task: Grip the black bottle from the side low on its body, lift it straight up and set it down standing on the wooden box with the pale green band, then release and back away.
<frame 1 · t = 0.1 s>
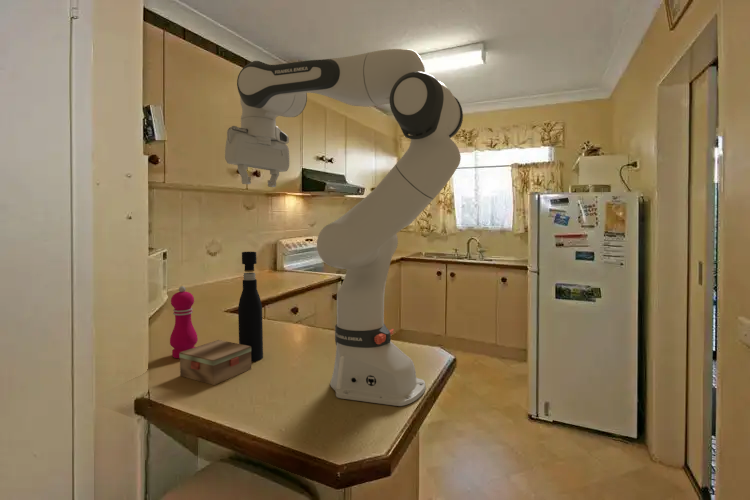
hand: (259, 185, 108), 48 cm above the countertop, tool pointing down, fingers open, 8 cm apart
black bottle: (251, 358, 115), on the countertop
pepper mill: (184, 355, 117), on the countertop
wooden box: (216, 372, 104), on the countertop
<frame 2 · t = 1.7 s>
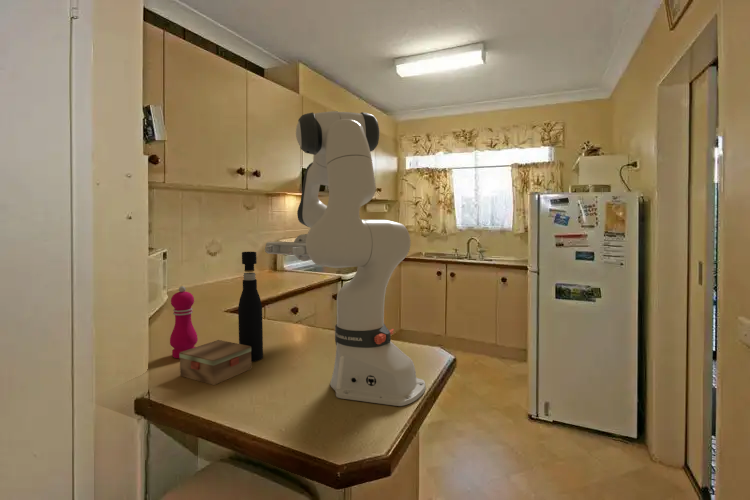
hand: (278, 250, 123), 30 cm above the countertop, tool horizontal, fingers open, 8 cm apart
nothing on the countertop moved.
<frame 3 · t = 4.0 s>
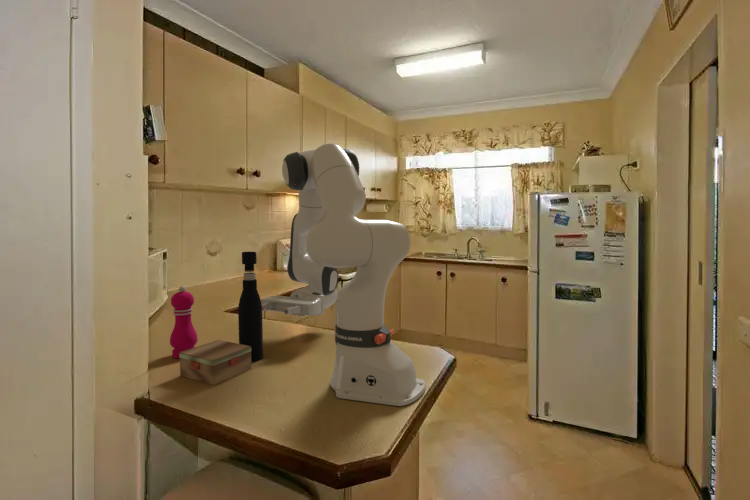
hand: (274, 310, 122), 12 cm above the countertop, tool horizontal, fingers open, 8 cm apart
nothing on the countertop moved.
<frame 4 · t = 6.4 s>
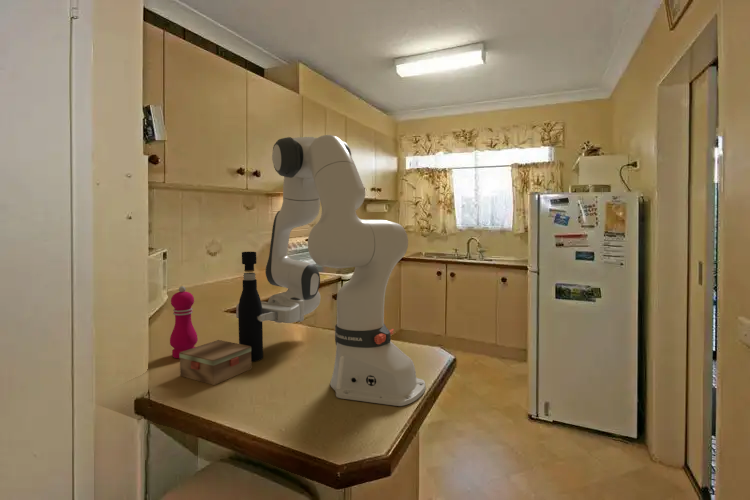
hand: (248, 316, 113), 12 cm above the countertop, tool horizontal, fingers closed on black bottle, 6 cm apart
black bottle: (251, 358, 115), on the countertop, touching gripper
everything else where it was.
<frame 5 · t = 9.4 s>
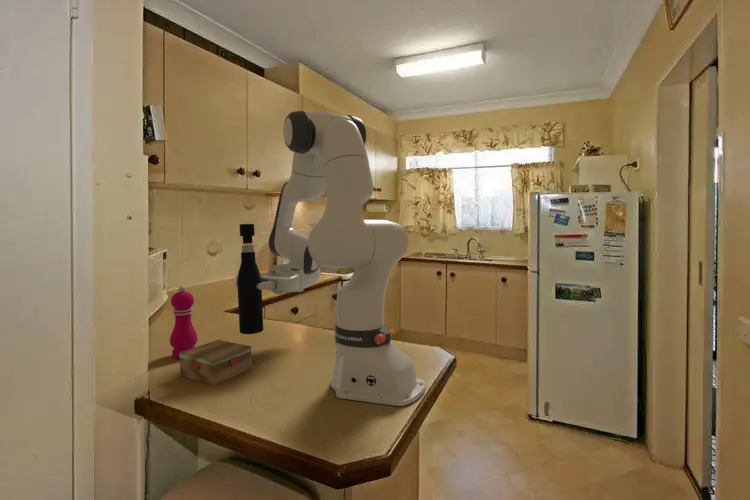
hand: (247, 285, 112), 21 cm above the countertop, tool horizontal, fingers closed on black bottle, 6 cm apart
black bottle: (251, 331, 115), point 8 cm above the countertop, touching gripper
everything else where it was.
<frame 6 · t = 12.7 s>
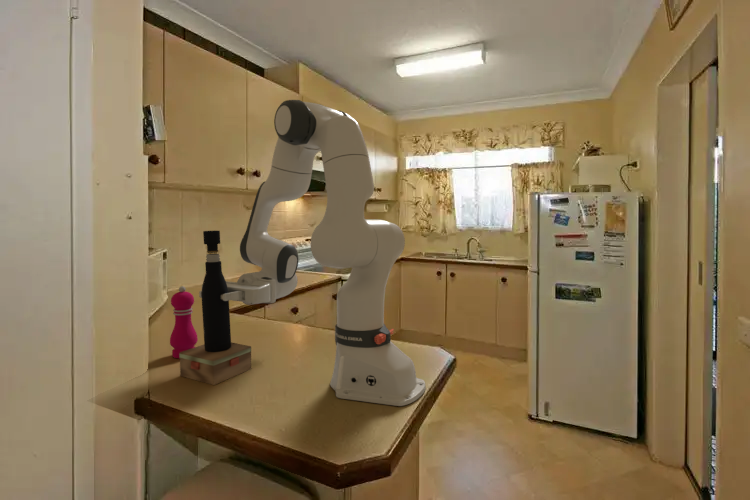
hand: (211, 296, 102), 20 cm above the countertop, tool horizontal, fingers closed on black bottle, 6 cm apart
black bottle: (218, 348, 104), point 6 cm above the countertop, touching gripper, wooden box
everything else where it was.
when the fingers open (20 cm above the countertop, at t = 12.7 s): black bottle stays where it is, resting on wooden box.
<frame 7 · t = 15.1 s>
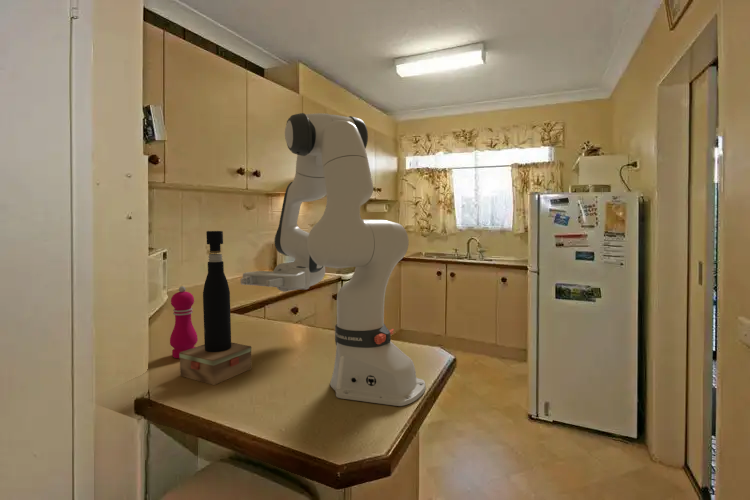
hand: (254, 282, 114), 21 cm above the countertop, tool horizontal, fingers open, 8 cm apart
black bottle: (218, 349, 104), point 6 cm above the countertop, touching wooden box
everything else where it was.
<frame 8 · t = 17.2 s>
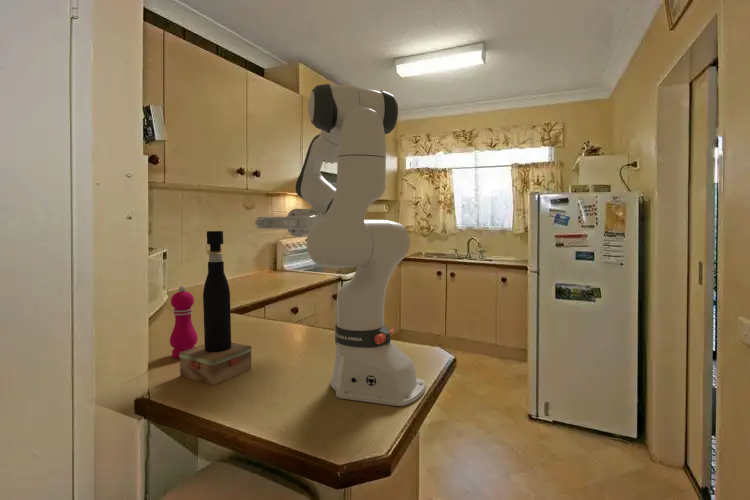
hand: (269, 223, 116), 38 cm above the countertop, tool horizontal, fingers open, 8 cm apart
nothing on the countertop moved.
at the end: black bottle inside the target area on the wooden box (0.8 cm from its centre), point 5.8 cm above the wooden box's base; black bottle tilted 0°; the gripper is holding nothing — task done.
